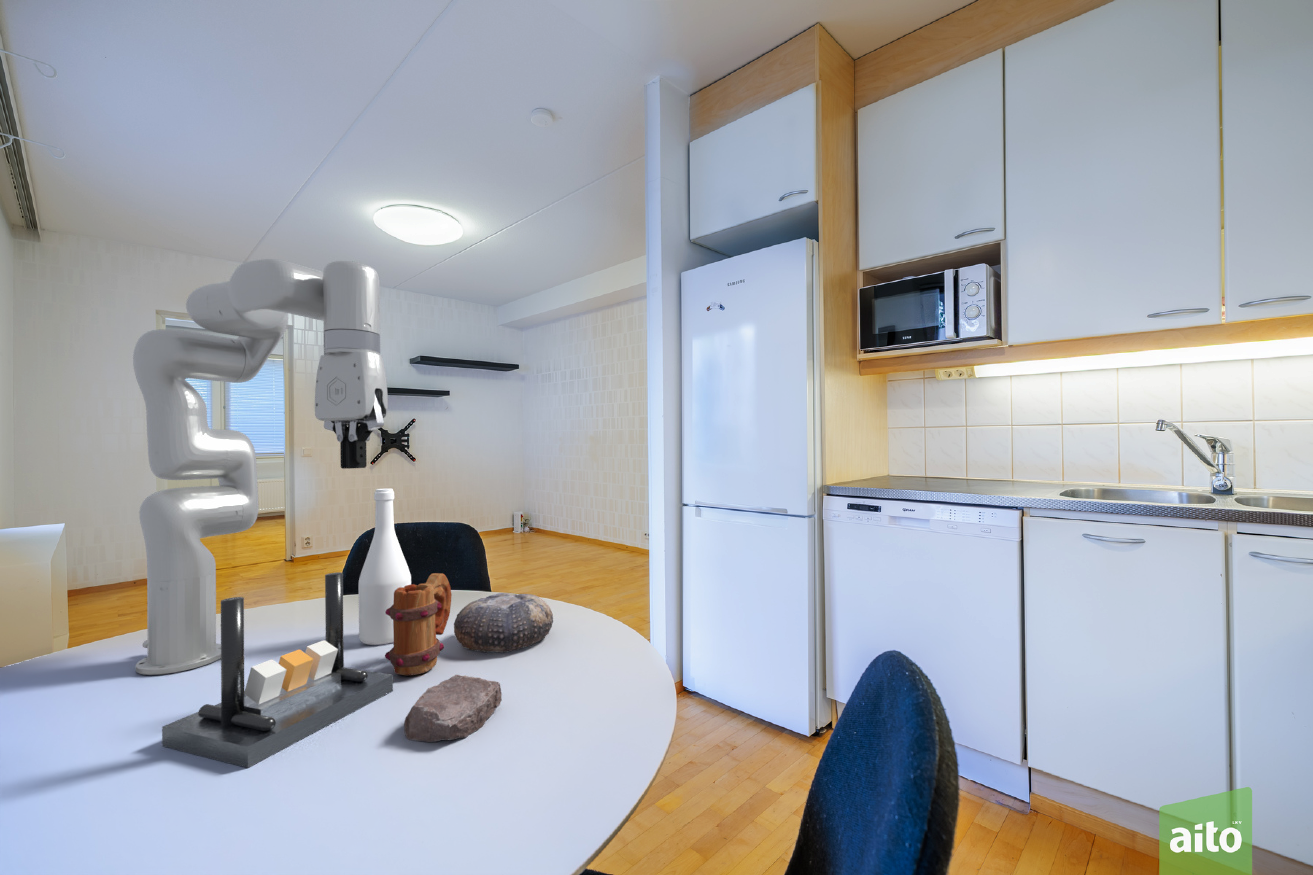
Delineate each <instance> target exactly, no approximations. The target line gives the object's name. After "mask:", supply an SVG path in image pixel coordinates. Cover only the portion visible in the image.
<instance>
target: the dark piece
mask: <svg viewBox="0 0 1313 875" xmlns="http://www.w3.org/2000/svg"><path fill="white" fill-rule="evenodd" d="M324 588H325V590H324V591H325V593H324V601H325V604H324V606H325V608H324V609H325V610H324V611H325V615H324V616H325V618H324V619H325V641H326V642H328V643H329V644H331V645H332V646H334V647H335V648H337V649H338V651H337V655H336V658H335V661H334V665H333V668H332V671H331V673H330V674H328V675H325V676H323V677H321V678H319V679H316V680H312V679H311V678H310V677H308V679H307V683H306V684H305V685H302V686H300V687H298V688H296V689H293V690H291V691H289V692H287V691H285V690H284V689H283V688H281V691H280V694H279V696H277V697H275V698H273V699H270V700H268V701H266V702H263V703H261V704H259V705H258V704H257V703H256V702H254V701H253V700H252V699H250V698H249V697H248V696H247V695H245V694H244V691H245V597H243V596H234V597H229V598H224V599H222V600H220V644H221V658H220V684H221V685H220V695H221V696H220V701H221V702H218V703H216V704H214V705H213V704H209V703H208V704H204V705H202V706H201V707H200V709H198V711H197V712H195V713H192V714H189V715H187V716H185V717H182V718H180V719H177V720H175V721H173V722H171V723H168V724H167V723H166V724H165V725H163V726H162V727H161V737H162V739H161V745H162V747H164V748H168V749H173V750H175V751H180V752H184V753H187V754H191V755H195V756H199V757H202V758H208V759H211V760H216V761H219V762H223V763H225V764H230V765H235V766H239V767H242V768H247V769H248V768H252V767H253V766H255V765H256V764H258V763H260V762H263V761H264V760H266V759H268V758H270V757H272V756H273V755H276V754H277V753H279V752H281V751H283V750H284V749H286V748H288V747H290V746H292V745H294V744H297V743H298V742H300V741H301V740H304V739H305V738H307V737H309V736H312V734H315V733H316V732H318V731H320V730H322V729H324V728H326V727H328V726H329V725H331V724H333V723H335V722H337V721H339V720H341V719H343V718H345V717H347V716H349V715H350V714H352V713H354V712H356V711H358V710H360V709H361V708H364V707H365V706H367V705H369V704H371V703H373V702H375V701H377V700H378V699H381V698H382V697H384V696H386V695H387V694H386V693H388V694H390V693H392V692H393V691H394V685H393V684H394V682H393V681H394V677H393V676H394V675H393V674H390V673H384V672H376V671H370V670H363V669H358V668H350V667H345V665H344V664H345V661H344V659H345V658H344V652H345V651H344V644H345V642H344V573H343V572H331V573H326V574H325V575H324ZM391 691H392V692H391ZM389 692H390V693H389ZM381 696H382V697H381ZM376 699H377V700H376Z"/></svg>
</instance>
